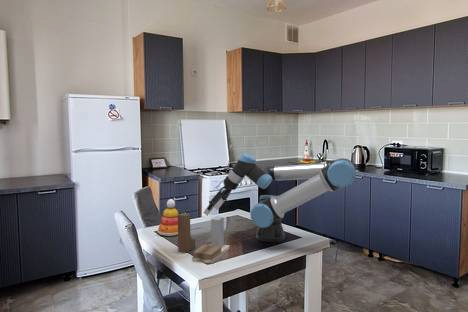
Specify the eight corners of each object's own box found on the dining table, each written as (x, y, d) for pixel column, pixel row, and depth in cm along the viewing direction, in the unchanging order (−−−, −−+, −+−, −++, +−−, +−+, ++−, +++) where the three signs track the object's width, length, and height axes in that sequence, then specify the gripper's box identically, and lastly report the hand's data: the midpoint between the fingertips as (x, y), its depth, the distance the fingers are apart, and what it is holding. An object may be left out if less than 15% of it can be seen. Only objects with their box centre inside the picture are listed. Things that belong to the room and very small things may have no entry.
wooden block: (187, 246, 175) (187, 210, 174) (195, 247, 173) (195, 211, 172) (177, 251, 167) (177, 214, 165) (185, 253, 165) (185, 215, 164)
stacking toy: (152, 234, 195) (151, 199, 194) (171, 228, 207) (170, 195, 205) (169, 238, 187) (169, 202, 185) (188, 232, 198) (188, 198, 197)
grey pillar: (223, 245, 172) (223, 216, 171) (219, 248, 166) (218, 219, 165) (216, 244, 173) (215, 216, 172) (211, 248, 168) (211, 219, 167)
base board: (229, 248, 172) (229, 240, 171) (213, 263, 152) (213, 254, 152) (210, 246, 175) (210, 238, 175) (192, 260, 155) (192, 252, 155)
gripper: (235, 172, 191) (214, 202, 196) (218, 178, 167) (195, 211, 173) (246, 181, 189) (224, 210, 195) (230, 188, 166) (206, 221, 171)
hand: (210, 211), depth 184 cm, fingers open, 13 cm apart
